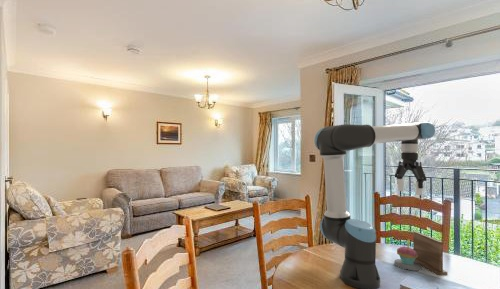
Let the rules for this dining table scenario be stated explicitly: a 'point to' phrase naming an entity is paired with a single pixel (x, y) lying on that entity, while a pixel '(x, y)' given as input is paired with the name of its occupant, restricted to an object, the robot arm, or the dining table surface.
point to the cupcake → (407, 254)
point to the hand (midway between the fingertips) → (409, 192)
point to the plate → (410, 267)
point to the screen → (429, 253)
